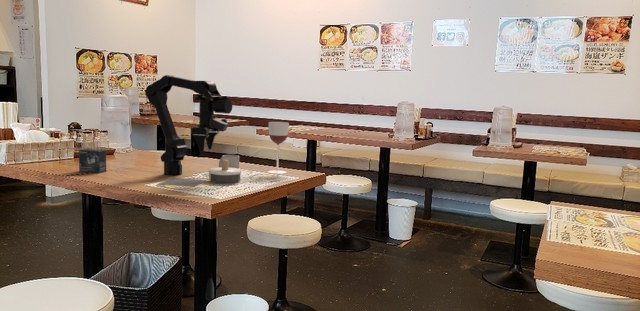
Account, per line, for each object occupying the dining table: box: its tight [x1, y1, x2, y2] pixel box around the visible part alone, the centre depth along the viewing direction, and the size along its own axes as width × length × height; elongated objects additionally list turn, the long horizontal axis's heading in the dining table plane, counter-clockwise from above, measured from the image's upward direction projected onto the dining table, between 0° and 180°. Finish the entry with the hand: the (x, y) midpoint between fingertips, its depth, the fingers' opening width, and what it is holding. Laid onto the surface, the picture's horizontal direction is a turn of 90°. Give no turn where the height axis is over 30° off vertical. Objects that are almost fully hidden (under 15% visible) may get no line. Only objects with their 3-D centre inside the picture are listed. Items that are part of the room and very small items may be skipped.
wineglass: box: [267, 121, 290, 175], centre depth 226 cm, size 9×10×23 cm
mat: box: [159, 177, 208, 188], centre depth 191 cm, size 14×14×1 cm
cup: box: [218, 154, 240, 169], centre depth 211 cm, size 7×10×9 cm
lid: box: [207, 160, 242, 175], centre depth 197 cm, size 13×13×5 cm
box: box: [78, 148, 107, 174], centre depth 207 cm, size 9×6×10 cm, turn 81°
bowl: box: [208, 172, 242, 185], centre depth 197 cm, size 12×12×4 cm
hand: (206, 150), depth 200 cm, fingers open, 9 cm apart
